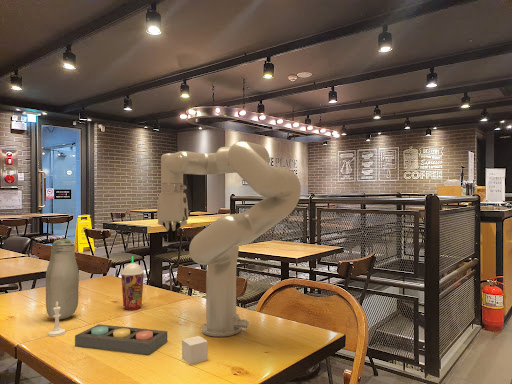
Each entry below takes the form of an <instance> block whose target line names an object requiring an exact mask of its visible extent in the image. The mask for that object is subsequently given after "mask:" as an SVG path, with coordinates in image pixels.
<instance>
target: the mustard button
mask: <svg viewBox="0 0 512 384" xmlns="http://www.w3.org/2000/svg"><path fill="white" fill-rule="evenodd" d="M129 335H130V329H127V328H122V329H117V330H115V331H114V332H113V337H119V338H125V337H127V336H129Z"/></svg>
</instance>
